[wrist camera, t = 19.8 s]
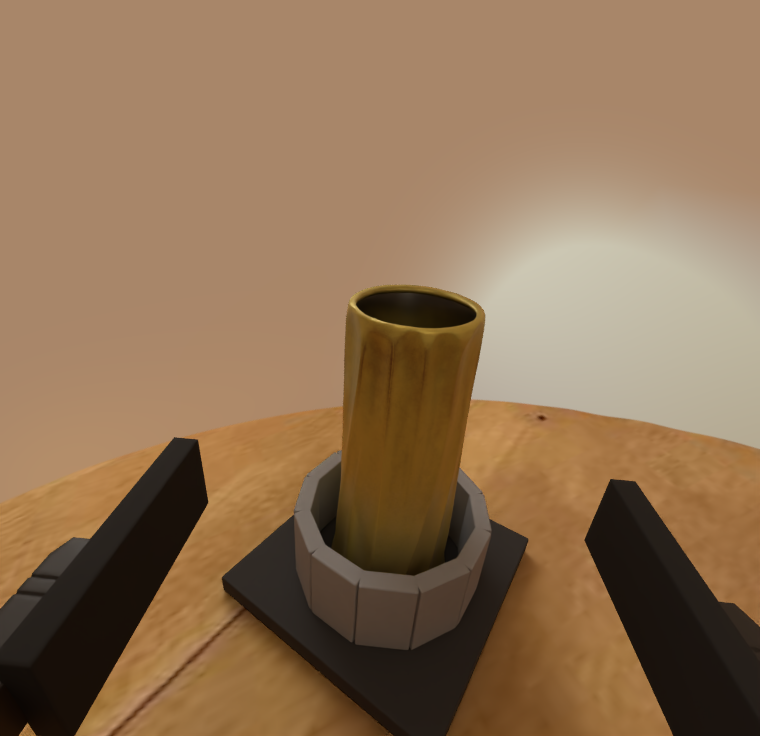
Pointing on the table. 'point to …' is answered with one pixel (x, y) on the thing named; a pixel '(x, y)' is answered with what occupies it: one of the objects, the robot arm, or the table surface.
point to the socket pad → (374, 672)
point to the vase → (404, 423)
